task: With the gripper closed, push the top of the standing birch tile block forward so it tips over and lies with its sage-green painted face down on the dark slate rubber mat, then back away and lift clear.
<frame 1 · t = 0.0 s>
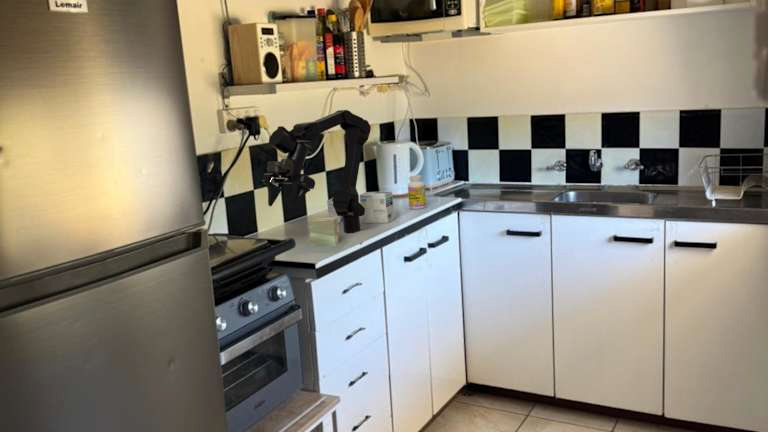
hand: (279, 206, 220), 15 cm above the table, tool tilted 35°, fingers open, 9 cm apart
medicine box: (337, 221, 272), on the table
supplement bottle: (417, 208, 286), on the table
light bulb box: (378, 222, 264), on the table
tile block: (325, 244, 228), point 1 cm above the table, touching slate mat
slate mat: (322, 249, 223), on the table
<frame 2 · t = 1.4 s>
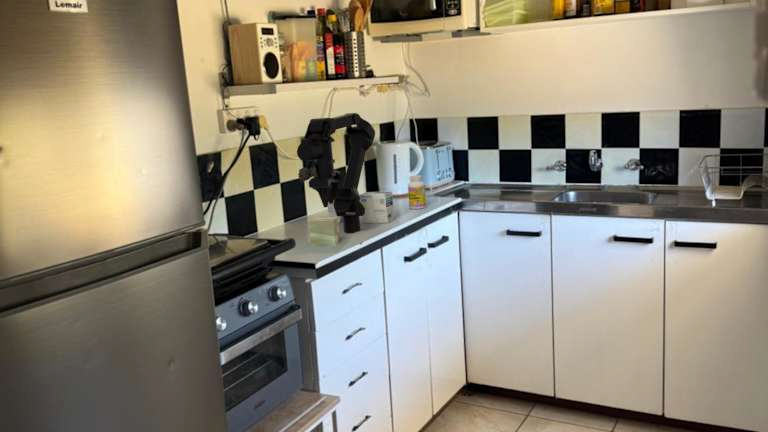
hand: (328, 205, 233), 12 cm above the table, tool pointing down, fingers open, 6 cm apart
nothing on the table moved.
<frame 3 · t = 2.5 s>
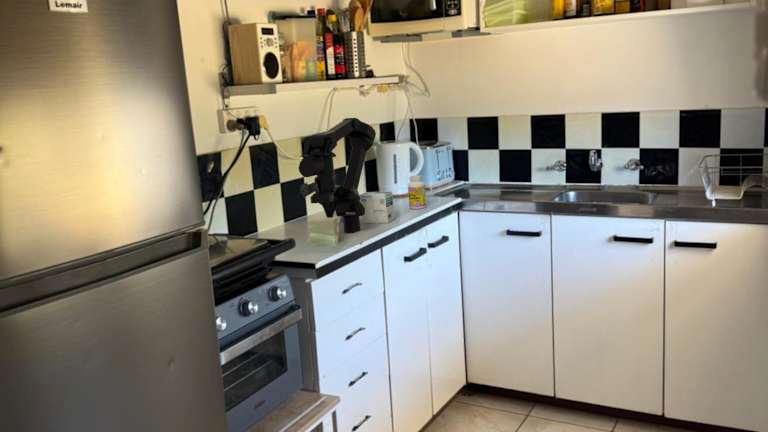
hand: (330, 220, 234), 7 cm above the table, tool pointing down, fingers closed
nothing on the table moved.
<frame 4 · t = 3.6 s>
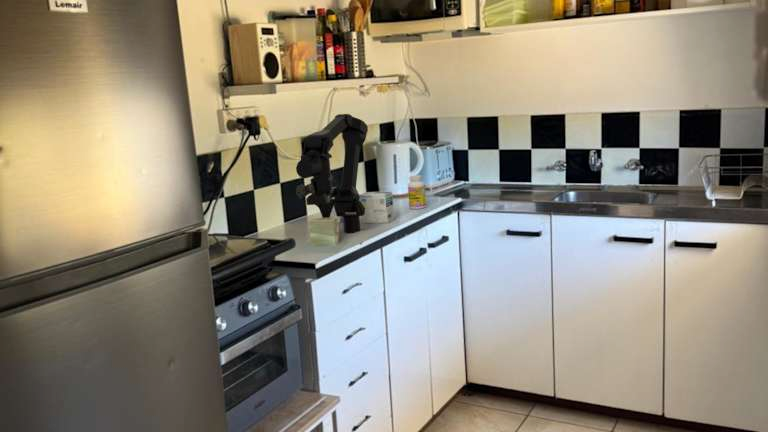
hand: (326, 222, 230), 7 cm above the table, tool pointing down, fingers closed
tile block: (325, 244, 228), point 1 cm above the table, touching gripper, slate mat
everything else where it was.
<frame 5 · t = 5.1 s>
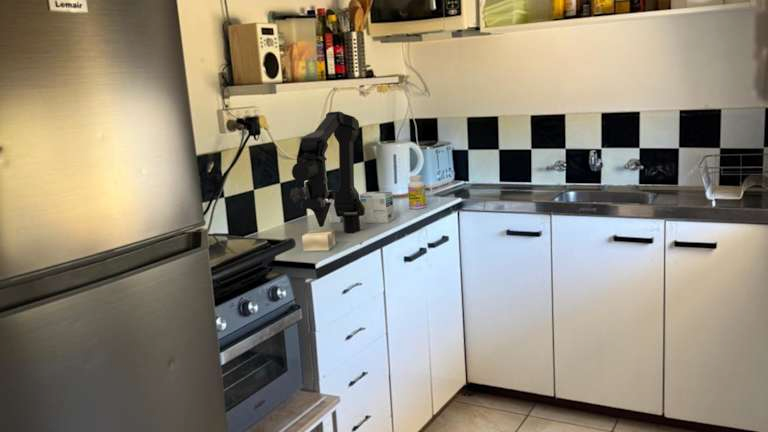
hand: (321, 226, 224), 7 cm above the table, tool pointing down, fingers closed
tile block: (322, 238, 225), point 3 cm above the table, tilted 90°, touching slate mat
everything else where it was.
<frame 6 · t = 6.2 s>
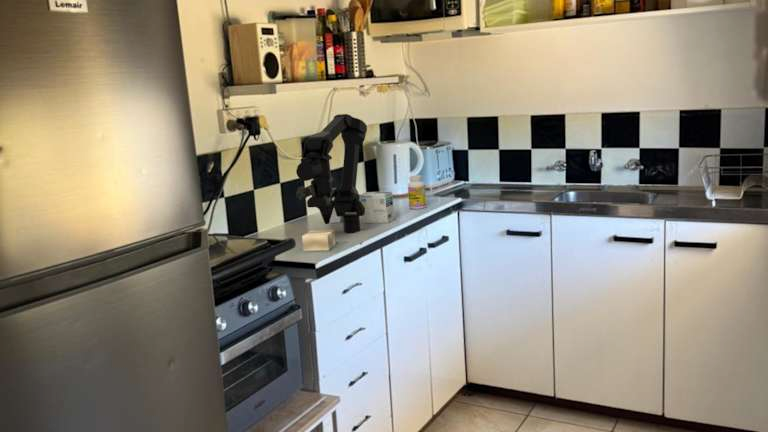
hand: (327, 223, 230), 7 cm above the table, tool pointing down, fingers closed
nothing on the table moved.
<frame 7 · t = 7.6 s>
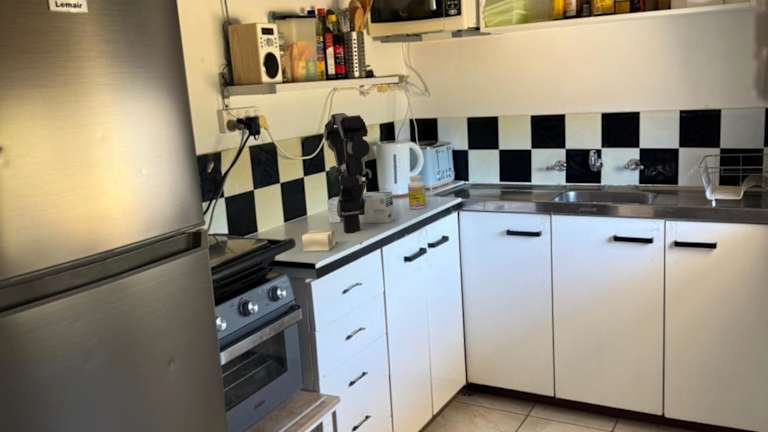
hand: (358, 203, 231), 12 cm above the table, tool pointing down, fingers closed
nothing on the table moved.
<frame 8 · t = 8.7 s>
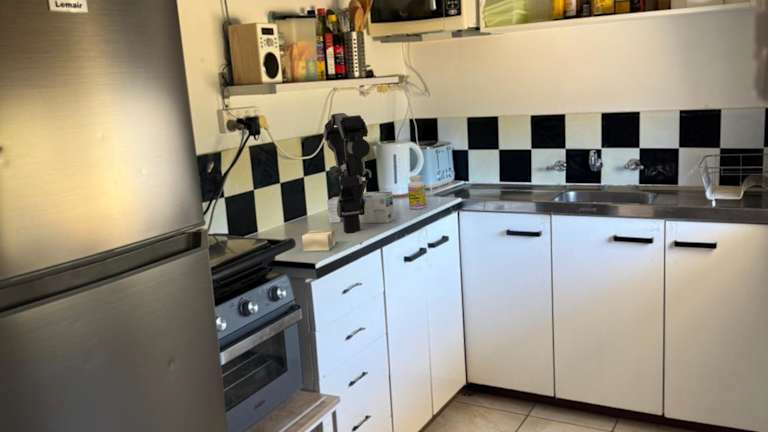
hand: (358, 203, 231), 12 cm above the table, tool pointing down, fingers closed
nothing on the table moved.
at the end: tile block tilted 90°; tile block touching slate mat; tile block inside the target area (1.5 cm from its centre), point 3.3 cm above the table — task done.
